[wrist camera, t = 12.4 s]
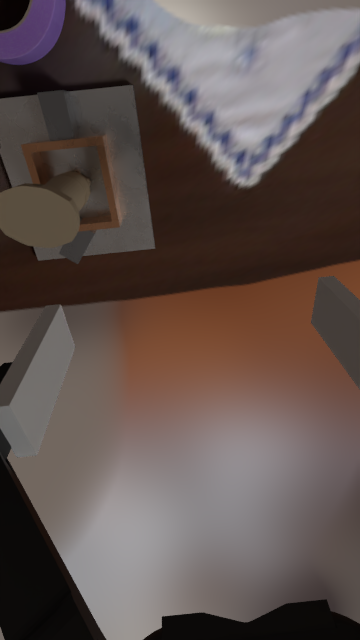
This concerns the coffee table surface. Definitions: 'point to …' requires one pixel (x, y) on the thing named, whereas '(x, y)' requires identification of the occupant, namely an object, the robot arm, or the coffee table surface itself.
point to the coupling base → (83, 162)
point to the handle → (45, 210)
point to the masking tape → (33, 33)
